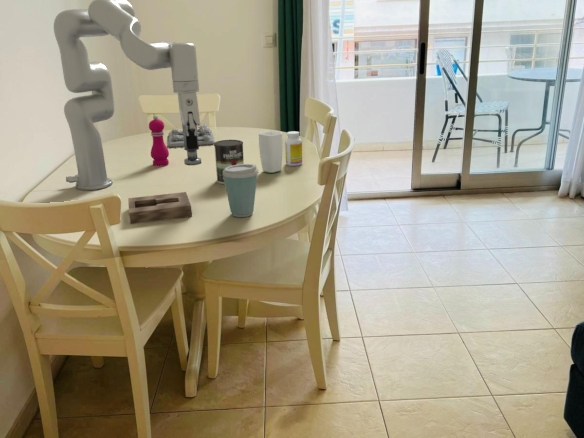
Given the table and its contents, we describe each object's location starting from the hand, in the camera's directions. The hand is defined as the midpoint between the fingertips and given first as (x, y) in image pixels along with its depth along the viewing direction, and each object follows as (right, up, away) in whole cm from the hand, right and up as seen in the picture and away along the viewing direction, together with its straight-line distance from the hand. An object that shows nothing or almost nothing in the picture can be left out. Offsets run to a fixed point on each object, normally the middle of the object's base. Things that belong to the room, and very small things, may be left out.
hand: (191, 146), depth 166 cm
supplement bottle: (+32, -1, +50) cm, 59 cm away
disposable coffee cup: (+16, -21, -2) cm, 27 cm away
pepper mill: (-23, 0, +55) cm, 59 cm away
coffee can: (+9, -9, +31) cm, 33 cm away
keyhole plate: (-10, -20, +1) cm, 23 cm away
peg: (0, -5, +2) cm, 5 cm away
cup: (+23, -4, +41) cm, 47 cm away
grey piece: (-18, +15, +97) cm, 100 cm away
